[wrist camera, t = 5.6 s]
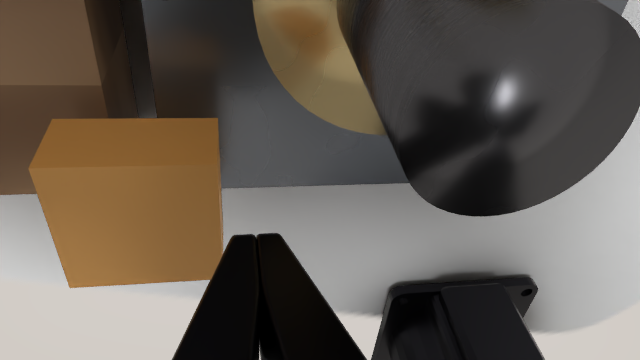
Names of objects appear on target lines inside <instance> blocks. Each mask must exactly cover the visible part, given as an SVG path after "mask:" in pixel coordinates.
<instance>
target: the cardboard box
mask: <svg viewBox="0 0 640 360" xmlns="http://www.w3.org/2000/svg"><path fill="white" fill-rule="evenodd" d="M28 169H29V172H30V175H31V177H32V180H33V183H34V186H35V189H36V192H37V195H38V198H39V201H40V203H41V206H42V209H43V212H44V215H45V218H46V221H47V224H48V227H49V229H50V232H51V235H52V238H53V241H54V244H55V247H56V250H57V253H58V255H59V258H60V261H61V264H62V267H63V270H64V273H65V276H66V279H67V281H68V284H69V287H70V288H77V287H94V286H111V285H128V284H145V283H162V282H179V281H196V280H211V278H212V276H213V274H214V272H215V270H216V268H217V266H218V264H219V262H220V259H221V257H222V255H223V216H222V195H221V173H220V152H219V131H218V118H126V119H52V121H51V123H50V125H49V127H48V129H47V131H46V133H45V135H44V137H43V139H42V141H41V143H40V145H39V147H38V149H37V152H36V154H35V156H34V158H33V160H32V162H31V164H30V166H29V168H28Z"/></svg>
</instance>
